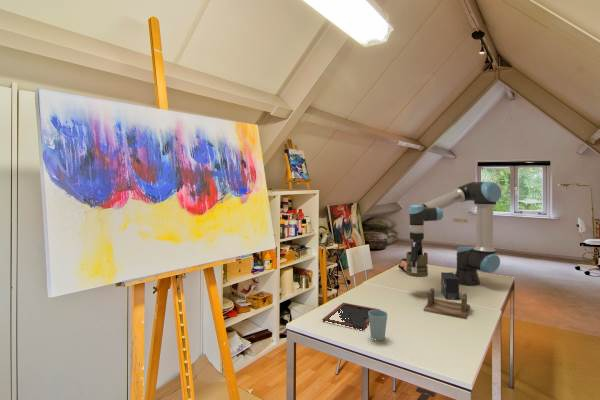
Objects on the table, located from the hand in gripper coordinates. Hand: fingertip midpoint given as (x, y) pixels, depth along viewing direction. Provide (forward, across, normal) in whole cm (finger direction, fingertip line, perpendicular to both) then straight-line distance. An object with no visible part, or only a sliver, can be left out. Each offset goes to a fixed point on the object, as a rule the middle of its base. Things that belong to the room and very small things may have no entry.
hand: (417, 270), depth 185 cm
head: (+15, -48, -16) cm, 53 cm away
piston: (+2, 0, 0) cm, 2 cm away
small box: (+15, -10, +16) cm, 24 cm away
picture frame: (+15, +46, -20) cm, 53 cm away
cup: (+14, +61, -1) cm, 63 cm away
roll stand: (+15, +12, +18) cm, 26 cm away
